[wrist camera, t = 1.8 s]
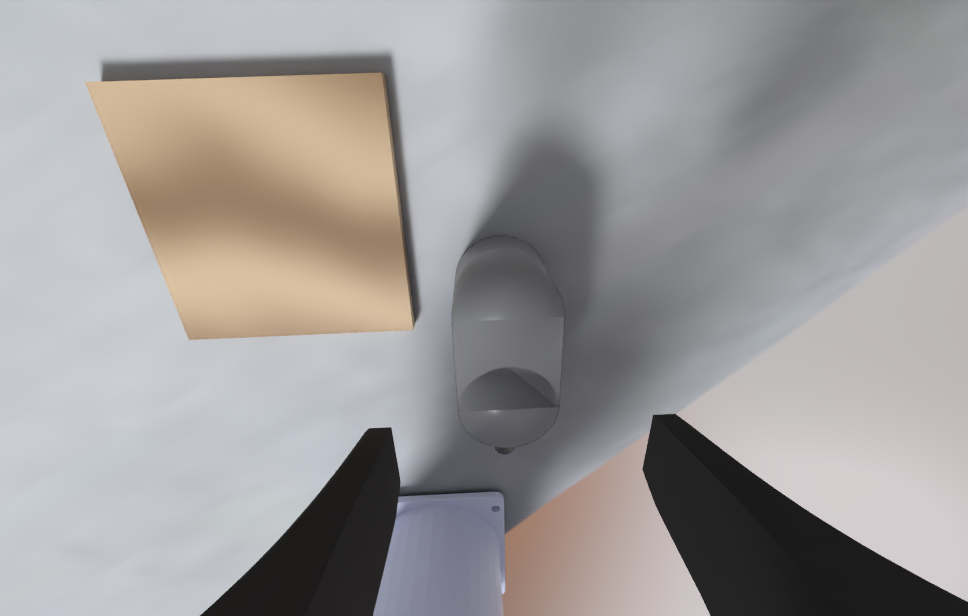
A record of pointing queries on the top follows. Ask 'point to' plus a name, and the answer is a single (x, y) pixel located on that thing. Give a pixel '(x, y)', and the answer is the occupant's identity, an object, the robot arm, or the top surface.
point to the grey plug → (506, 343)
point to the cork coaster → (266, 200)
